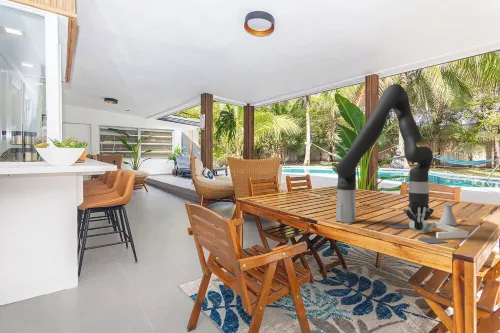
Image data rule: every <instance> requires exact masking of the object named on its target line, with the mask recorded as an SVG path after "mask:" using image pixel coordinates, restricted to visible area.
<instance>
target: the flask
mask: <svg viewBox="0 0 500 333" xmlns="http://www.w3.org/2000/svg"><path fill="white" fill-rule="evenodd" d="M443 205H444V209H443V213H442V215H441V217H440V219H439V221H438V222H439V223H442V224H445V225H449V226H452V227H455V226H459V224H458V222H457V220H456V217H455V215H454V213H453V204H450V203H445V204H443Z"/></svg>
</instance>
